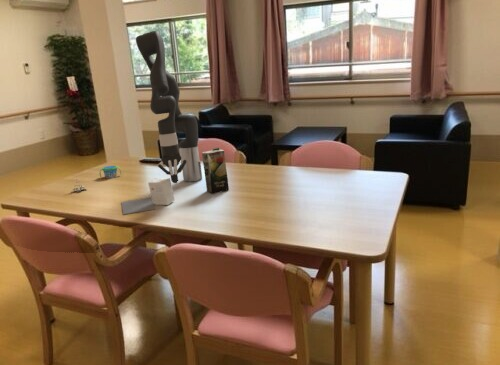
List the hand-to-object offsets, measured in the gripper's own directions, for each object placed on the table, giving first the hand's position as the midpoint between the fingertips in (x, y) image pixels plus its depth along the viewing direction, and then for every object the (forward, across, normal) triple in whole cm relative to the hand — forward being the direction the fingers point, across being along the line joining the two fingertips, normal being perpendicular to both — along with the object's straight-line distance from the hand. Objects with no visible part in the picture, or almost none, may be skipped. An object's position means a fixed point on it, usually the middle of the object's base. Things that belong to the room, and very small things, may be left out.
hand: (175, 182), depth 178 cm
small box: (+8, +6, -1) cm, 10 cm away
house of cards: (+8, +43, -40) cm, 59 cm away
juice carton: (+9, -20, -6) cm, 23 cm away
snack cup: (+7, +26, -61) cm, 66 cm away
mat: (+8, +17, -4) cm, 19 cm away
